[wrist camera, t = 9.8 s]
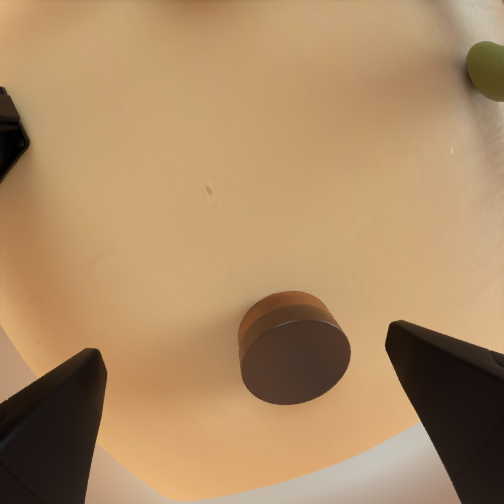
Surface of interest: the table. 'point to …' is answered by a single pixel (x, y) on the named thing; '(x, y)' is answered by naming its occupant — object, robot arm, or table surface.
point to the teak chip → (275, 302)
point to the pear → (487, 69)
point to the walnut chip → (293, 354)
